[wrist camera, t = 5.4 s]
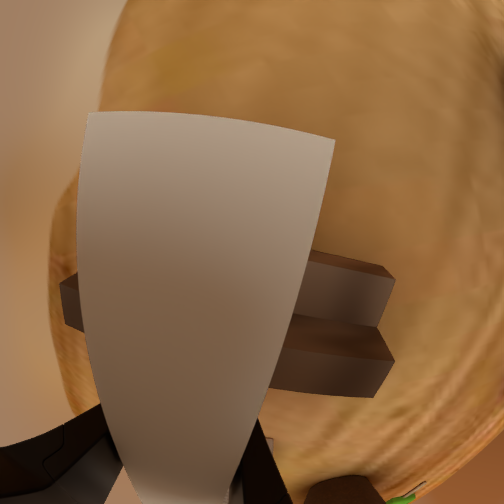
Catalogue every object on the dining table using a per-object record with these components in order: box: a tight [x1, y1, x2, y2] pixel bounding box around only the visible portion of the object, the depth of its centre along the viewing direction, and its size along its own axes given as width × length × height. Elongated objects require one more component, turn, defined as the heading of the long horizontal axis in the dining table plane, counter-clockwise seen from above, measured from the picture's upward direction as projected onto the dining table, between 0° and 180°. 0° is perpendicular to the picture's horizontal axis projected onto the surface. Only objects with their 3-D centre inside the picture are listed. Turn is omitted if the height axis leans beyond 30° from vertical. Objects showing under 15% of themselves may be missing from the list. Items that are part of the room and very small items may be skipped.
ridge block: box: [59, 250, 396, 398], centre depth 13 cm, size 16×8×5 cm, turn 79°
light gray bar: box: [76, 111, 335, 504], centre depth 7 cm, size 3×16×4 cm, turn 169°
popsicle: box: [385, 482, 427, 504], centre depth 25 cm, size 6×15×2 cm, turn 166°
